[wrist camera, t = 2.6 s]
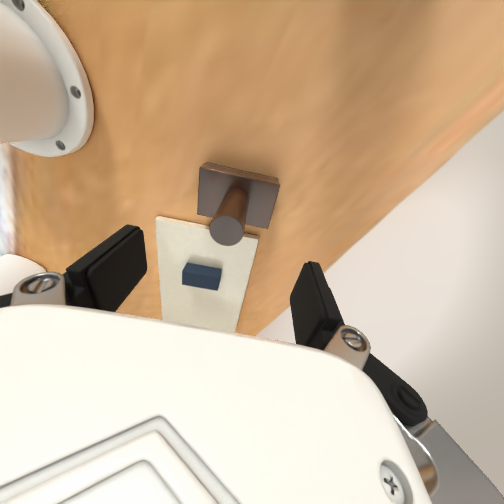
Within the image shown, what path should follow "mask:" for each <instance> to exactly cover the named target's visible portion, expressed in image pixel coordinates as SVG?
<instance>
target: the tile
mask: <svg viewBox="0 0 504 504" xmlns="http://www.w3.org/2000/svg"><path fill="white" fill-rule="evenodd" d="M155 228H156V241H157V255H158V268H159V281H160V294H161V308H162V320H164V321H170V322H176V323H182V324H187V325H193V326H199V327H205V328H210V329H216V330H222V331H228V332H234V333H235V330H236V326H237V322H238V318H239V314H240V310H241V307H242V303H243V299H244V295H245V291H246V287H247V284H248V280H249V276H250V272H251V268H252V264H253V260H254V257H255V253H256V249H257V245H258V241H259V236H257V235H252V234H247V233H244V235H243V238H242V239H241V241H240V242H239V243H237V244H235V245H232V246H224V245H220V244H218V243H217V242H215V241H214V240H213V238H212V237H211V235H210V232H209V226H207V225H202V224H197V223H192V222H187V221H182V220H177V219H172V218H167V217H162V216H157V217H156V218H155ZM187 262H188V263H193V264H198V265H204V266H209V267H215V268H220V269H222V273H221V280H220V284H219V288H218V291H215V290H209V289H203V288H198V287H192V286H187V285H182V270H183V268H184V267H185V265H186V263H187Z"/></svg>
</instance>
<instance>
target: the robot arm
mask: <svg viewBox="0 0 504 504" xmlns="http://www.w3.org/2000/svg"><path fill="white" fill-rule="evenodd" d="M93 123H94V105H93V98H92V92H91V88H90V85H89V82H88V79H87V75H86V73H85V71H84V68H83V66H82V64H81V62H80V59H79V57H78V55H77V53H76V52H75V50H74V48H73V46H72V45H71V43H70V41H69V40H68V38H67V36H66V35H65V34H64V32H63V31H62V30H61V28H60V27H59V25H58V24H57V23H56V21H55V20H54V19H53V17H52V16H51V15H50V14H49V13H48V12H47V11H46V10H45V9H44V8H43V7H42V6H41V5H40V3H39V2H38V1H37V0H0V143H9V144H10V145H12V146H14V147H16V148H19V149H21V150H23V151H25V152H28V153H32V154H35V155H38V156H46V157H55V156H63V155H67V154H72V153H74V152H75V151H77V150H79V149H80V148H81V147H82V146H83V145H84V144H85V143H86V142H87V140H88V138H89V136H90V134H91V132H92V127H93ZM66 271H67V272H66V273H64V274H63V275H62V274H60V273H57V272H43V273H38V274H34V275H31V276H29V277H26V278H25V279H23V280H21V281H20V282H19V283H17V284H16V285H15V287H14V289H13V293H9V294H5V295H1V296H0V504H504V497H503V496H502V494H501V493H500V492H499V490H498V489H497V488H496V487H495V485H494V484H493V483H492V482H491V481H490V480H489V479H488V478H487V476H486V475H485V474H484V473H483V472H482V471H481V470H480V469H479V467H478V466H477V465H476V464H475V463H474V462H473V461H472V460H471V459H470V458H469V456H468V455H467V454H466V453H465V452H464V451H463V450H462V449H461V448H460V446H459V445H458V444H457V443H456V442H455V441H454V440H453V439H452V438H451V437H450V435H449V434H448V433H447V432H446V431H445V430H444V429H443V428H442V426H441V425H440V424H439V423H438V422H437V421H436V420H434V421H432V420H431V419H430V418H429V417H428V416H427V408H426V405H425V404H424V402H423V400H422V398H421V397H420V396H419V394H418V393H417V392H416V391H415V390H414V389H413V388H412V387H411V386H410V385H409V384H407V383H406V382H405V381H404V380H402V379H401V378H400V377H399V376H398V375H396V374H395V373H394V372H393V371H391V370H390V369H389V368H388V367H387V366H385V365H384V364H383V363H382V362H380V361H379V360H378V359H377V358H376V357H374V356H373V355H372V354H371V353H370V349H371V347H370V343H369V341H368V339H367V338H366V337H365V335H364V334H363V333H361V332H360V331H359V330H357V329H356V328H354V327H351V326H348V325H345V324H344V322H343V319H342V316H341V314H340V311H339V309H338V306H337V304H336V301H335V299H334V296H333V294H332V292H331V289H330V288H329V287H328V284H327V282H326V279H325V277H324V274H323V271H322V269H321V266H320V264H319V263H316V262H311V261H309V262H308V263H305V264H304V265H303V268H302V270H301V272H300V275H299V277H298V279H297V281H296V284H295V286H294V288H293V291H292V293H291V295H290V305H291V311H292V318H293V326H294V332H295V340H296V344H293V343H287V342H283V341H278V340H272V339H267V338H261V337H256V336H250V335H245V334H239V333H233V332H228V331H222V330H216V329H210V328H205V327H199V326H193V325H187V324H182V323H176V322H170V321H164V320H158V319H152V318H146V317H140V316H134V315H128V314H122V313H116V312H115V311H116V310H117V309H118V307H119V306H120V305H121V304H122V302H123V301H124V300H125V299H126V297H127V296H128V295H129V294H130V292H131V291H132V290H133V289H134V287H135V286H136V285H137V284H138V282H139V281H140V280H141V279H142V277H143V276H144V275H145V273H146V272H147V261H146V252H145V243H144V235H143V231H142V230H140V228H139V227H138V226H133V225H125V226H124V227H123V228H121V229H120V230H119V231H117V232H116V233H114V234H113V235H112V236H110V237H109V238H108V239H106V240H105V241H103V242H102V243H101V244H99V245H98V246H97V247H95V248H94V249H92V250H91V251H90V252H88V253H87V254H86V255H84V256H83V257H81V258H80V259H79V260H77V261H76V262H75V263H73V264H72V265H70V266H69V267H68V268H66Z"/></svg>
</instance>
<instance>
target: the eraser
mask: <svg viewBox="0 0 504 504" xmlns="http://www.w3.org/2000/svg"><path fill="white" fill-rule="evenodd" d="M221 273H222V269H220V268H215V267H209V266H204V265H198V264H193V263H188V262H187V263H186V265H185V267H184V268H183V270H182V285H187V286H192V287H198V288H203V289H209V290H215V291H218V288H219V284H220V280H221Z"/></svg>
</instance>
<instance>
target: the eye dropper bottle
mask: <svg viewBox="0 0 504 504" xmlns="http://www.w3.org/2000/svg"><path fill="white" fill-rule="evenodd" d="M43 272H46V270H45V269H44V268H43V267H42V266H40V265H39V264H37V263H35V262H33V261H31V260H29V259H27V258H24V257H21V256H18V255H13V254H4V255H2V256H0V296H1V295H5V294H9V293H13V289H14V287H15V285H16V284H17V283H19V282H20V281H21V280H23V279H25V278H26V277H29V276H31V275H34V274H38V273H43Z"/></svg>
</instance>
